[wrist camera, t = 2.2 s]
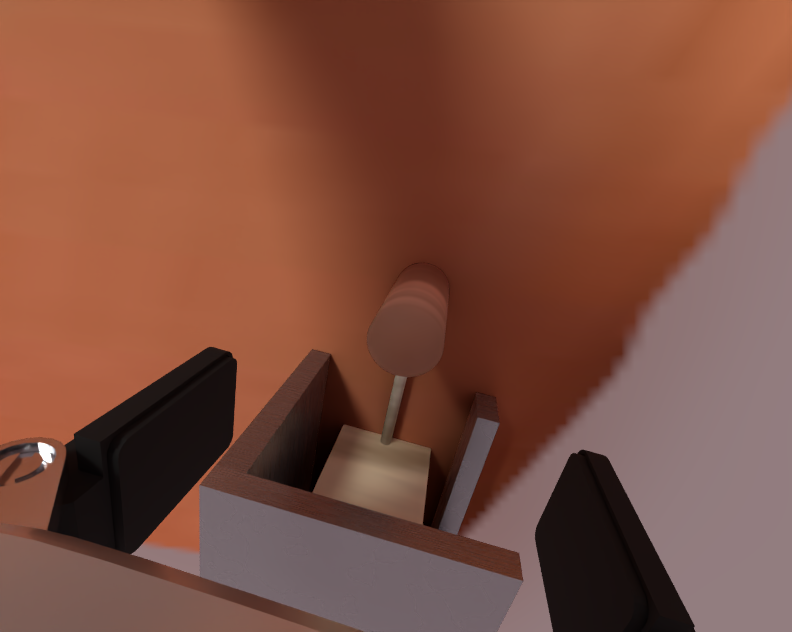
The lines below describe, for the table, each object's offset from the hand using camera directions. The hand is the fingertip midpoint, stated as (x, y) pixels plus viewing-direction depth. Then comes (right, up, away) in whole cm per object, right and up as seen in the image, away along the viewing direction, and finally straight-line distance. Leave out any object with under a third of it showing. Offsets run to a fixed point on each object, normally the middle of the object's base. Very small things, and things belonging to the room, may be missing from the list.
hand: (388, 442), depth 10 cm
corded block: (0, -2, +14) cm, 14 cm away
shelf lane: (-1, -5, +15) cm, 16 cm away
